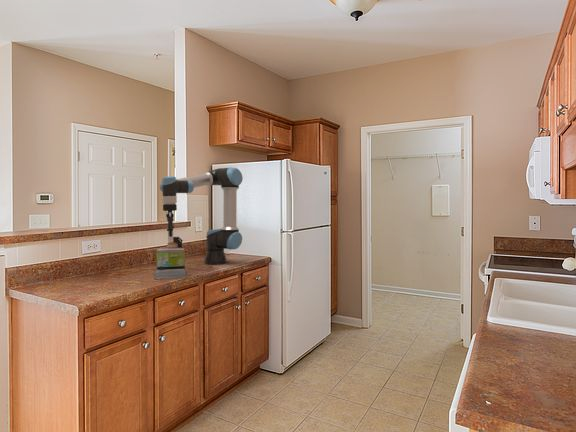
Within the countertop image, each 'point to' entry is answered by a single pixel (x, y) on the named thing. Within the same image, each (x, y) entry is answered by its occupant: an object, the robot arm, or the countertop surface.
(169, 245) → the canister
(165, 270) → the tea box
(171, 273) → the grey flat slab
